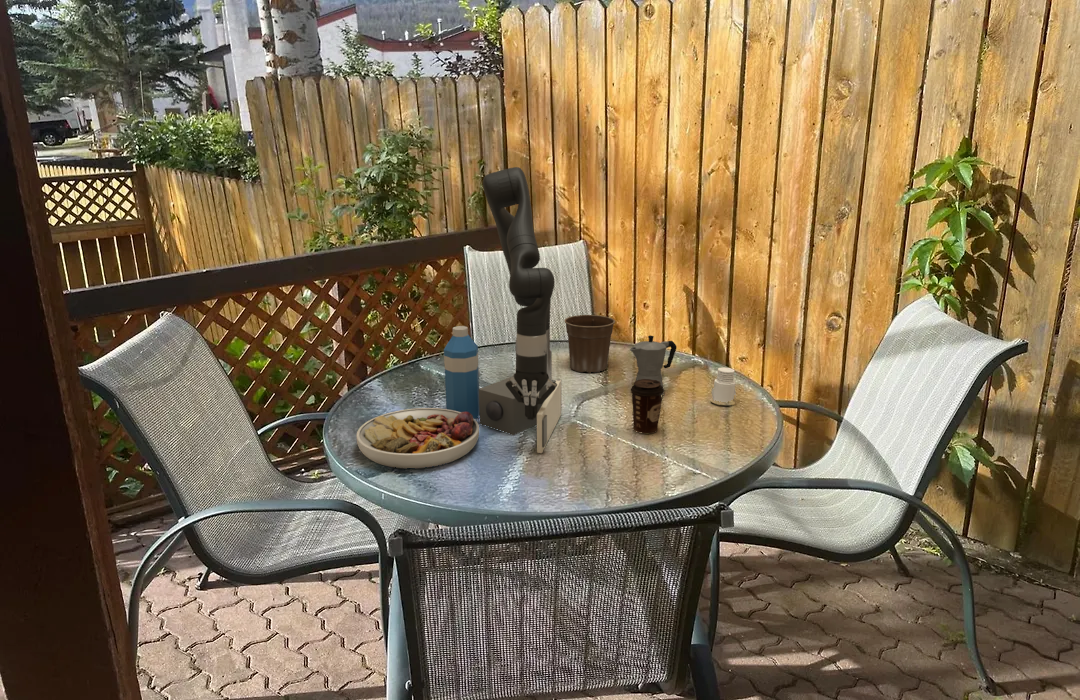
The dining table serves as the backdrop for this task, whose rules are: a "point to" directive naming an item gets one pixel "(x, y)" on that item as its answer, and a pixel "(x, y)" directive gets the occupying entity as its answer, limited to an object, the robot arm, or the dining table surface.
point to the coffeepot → (652, 358)
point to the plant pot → (589, 342)
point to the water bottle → (462, 373)
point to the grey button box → (504, 408)
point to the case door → (548, 416)
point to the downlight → (724, 385)
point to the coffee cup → (646, 405)
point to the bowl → (418, 437)
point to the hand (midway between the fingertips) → (531, 418)
